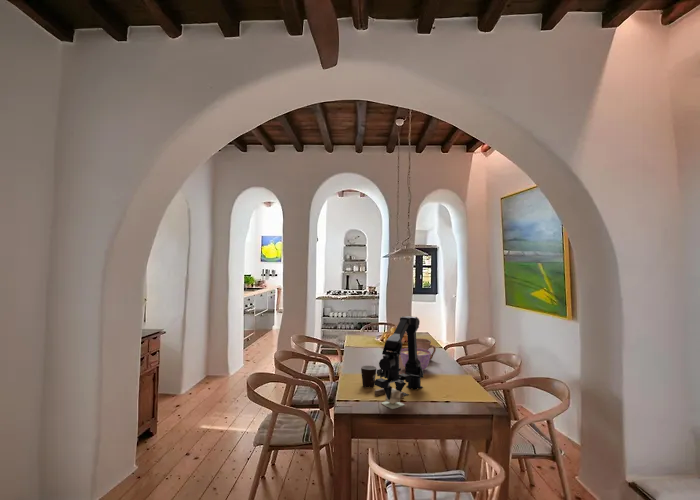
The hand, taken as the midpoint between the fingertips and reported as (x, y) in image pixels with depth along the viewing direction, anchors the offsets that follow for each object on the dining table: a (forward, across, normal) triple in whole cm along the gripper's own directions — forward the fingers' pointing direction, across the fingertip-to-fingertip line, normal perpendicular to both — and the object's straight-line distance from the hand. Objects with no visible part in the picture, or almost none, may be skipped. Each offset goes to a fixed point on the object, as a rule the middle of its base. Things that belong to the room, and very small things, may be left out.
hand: (392, 398), depth 187 cm
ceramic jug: (+4, -73, -52) cm, 89 cm away
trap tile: (+3, -13, -10) cm, 17 cm away
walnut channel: (+3, -6, -10) cm, 12 cm away
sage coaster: (+3, 0, 0) cm, 3 cm away
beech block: (+1, 0, 0) cm, 1 cm away
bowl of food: (+3, -52, -38) cm, 64 cm away
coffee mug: (+3, -9, -29) cm, 31 cm away
